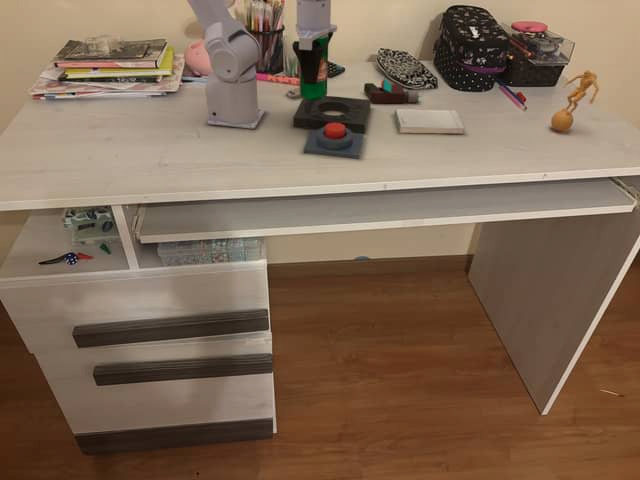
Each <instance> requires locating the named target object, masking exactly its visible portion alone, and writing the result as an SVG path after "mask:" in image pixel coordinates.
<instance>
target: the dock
mask: <svg viewBox="0 0 640 480" xmlns="http://www.w3.org/2000/svg"><path fill="white" fill-rule="evenodd" d="M371 104H372V102H371V100H370V99H364V98H362V99H361V98H356V97H355V98H354V97H344V96H334V95H326V96H325V97H324V98H323V99H321V100H317V101H311V100H306V99H304V98H303V97H302V99H301V101H300V103H299V105H298V108H297V110H296V112H295V114H294V116H293V121H292V124H293V127H294V128H300V129H311V130H319V129H321V128H323V127H325V126H326V125H327V124H329V123H341V124H343V125H344V126H345V128H347V129H350V130H351V132H352V133H353V134H361V135H365V134H366V131H367V130H366V129H367V125H368V120H369V116H370V111H371ZM324 112H340V113H343V114H335V115H334V114H327V113H324Z"/></svg>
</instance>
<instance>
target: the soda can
mask: <svg viewBox="0 0 640 480" xmlns="http://www.w3.org/2000/svg"><path fill="white" fill-rule="evenodd" d="M315 43H317V45H327V47H326V49H325V51H324V53H323V55H322V58H321V62H320V67H319V74H318V79H317V83H316V85H311V84H304V80H303V76H302V72H301V67H300V64H299V63H298V65H299V66H298V68H299V73H298V74H299V75H298V76H299V80H298V81H299V88H300V95H301V96H302V97H301V98H302V99H303V98H304V99H306V100H311V101H317V100H321V99H323V98H324V97H325V96H328V76H329V75H328V74H329V73H328V70H329V68H328V66H329V45H328V34H325V35H323V36H321V37H319V38H317V39H315Z"/></svg>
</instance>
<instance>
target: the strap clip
mask: <svg viewBox="0 0 640 480" xmlns="http://www.w3.org/2000/svg"><path fill="white" fill-rule="evenodd" d="M286 96H287V97H289V98H291V99H301V98H303V97H302V96H301V95H300V87H296V88H293V89H292V88H291V89H289V90H287V91H286Z"/></svg>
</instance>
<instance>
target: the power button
mask: <svg viewBox="0 0 640 480" xmlns="http://www.w3.org/2000/svg"><path fill="white" fill-rule="evenodd" d="M325 136H326V137H328V138H330V139H341V138H344V137H345V126H344V125H343V124H341V123H329V124H327V125H326V126H325Z"/></svg>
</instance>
